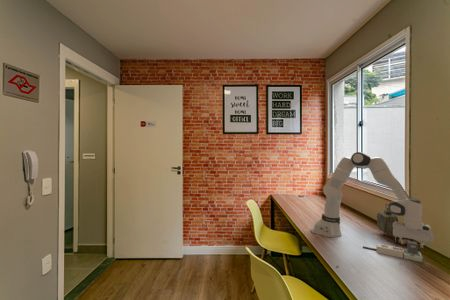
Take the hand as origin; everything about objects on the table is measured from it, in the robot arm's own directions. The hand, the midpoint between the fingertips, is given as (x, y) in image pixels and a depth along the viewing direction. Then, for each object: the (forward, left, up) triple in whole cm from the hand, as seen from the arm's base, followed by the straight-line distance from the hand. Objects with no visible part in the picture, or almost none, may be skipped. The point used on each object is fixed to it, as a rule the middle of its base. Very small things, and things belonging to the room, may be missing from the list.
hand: (411, 245), depth 148 cm
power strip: (-16, -1, -8) cm, 18 cm away
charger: (0, 0, -7) cm, 7 cm away
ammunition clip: (-2, +21, -8) cm, 23 cm away
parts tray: (0, 0, -8) cm, 8 cm away
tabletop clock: (-11, +34, -8) cm, 36 cm away
